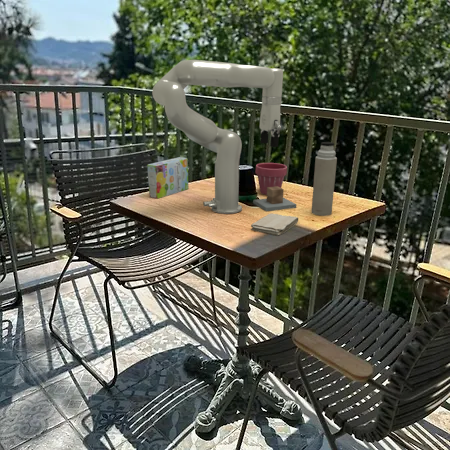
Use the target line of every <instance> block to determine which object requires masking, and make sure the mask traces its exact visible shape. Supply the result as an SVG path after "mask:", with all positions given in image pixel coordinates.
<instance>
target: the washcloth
mask: <svg viewBox="0 0 450 450" xmlns="http://www.w3.org/2000/svg"><path fill="white" fill-rule="evenodd" d="M298 222H299V217H297V216H291V215H282V214H278V213H271V212H270V213H268V214H267V215H265V216H264V217H262V218H259V219H258V220H257V221H255V222H253V223H252V224H251V225H250V227H251V229H250V230H251V231H255V232H258V233H263V234H269V235H273V236H280V235H282V234H284V233H286V232H287V231H289V230H290V229H292V228H293V227H294V226H295V225H296V224H298Z"/></svg>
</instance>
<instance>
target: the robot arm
mask: <svg viewBox="0 0 450 450" xmlns="http://www.w3.org/2000/svg"><path fill="white" fill-rule="evenodd" d="M283 78H284V72H283V69H281V68H274V67H273V68H271V67H268V66H259V65H247V64H237V63H233V62H232V63H231V62H225V61H224V62H222V61H211V60H201V59H185V60H184V59H183V60H180V62H179V61H178V63H176V64H175V65H174V66H173V67H172V68H170V70H169V71H168V72H166V73H165V74H164V76H162V77H161V78H160V79H159V80H158V81H157V82H156V83H155V84H154V86H153V87H152V90H151V91H152V97H153V99H154V101H155V102H156V103H158V104H159V105H161V106H164V111H165V115H166V117H167V120H168V121H169V123H170V124H171V125H172V126H173V127H174V128H176V129H177V130H179V131H182V132H183V133H184V134H185V136H186V137H187V138H188V139H189V140H191V141H192V142H194V143H196V144H198V145H200V146H201V147H204V148H205V149H208V150H209V151H212V152H214V153H217V154H216V158H215V162H214V197H212V199H211V200H210V201H208V200H207V201H203V207H209V208H210V210H211V211H212V212H214V213H218V214H224V215H225V214H228V215H230V214H236V213H240V212H242V210H243V206H242V205H241V204H239V195H240V194H239V187H240V186H239V185H240V183H239V182H240V158H241V153H242V147H243V146H242V140H241V137H240V136H239V135H238V134H237V132H235V131H232V130H228V129H224V128H220V127H218V126H217V125H216V123H215V122H214V121H213V120H212V119H210V118H208V117H206V116H204V115H202V114H201V113H198V112H197V111H195V110H194V109H192V108H191V107H190V106H189V105H188V104H187V101H186V100H187V99H186V91H185V89H186V87H187V86H188V85H189V86H190V85H191V86H203V87H219V88H252V89H258V88H259V89H262V95H261V96H262V98H261V110H260V118H259V129H260V144H268V143H269V132H270V133H271V136H270V145H269V147H271V148H278V147H279V141H280V140H279V137H280V133H281V130H282V126H281V106H282V95H283V94H282V93H283V81H284V79H283Z"/></svg>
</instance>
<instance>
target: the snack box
mask: <svg viewBox="0 0 450 450" xmlns="http://www.w3.org/2000/svg"><path fill="white" fill-rule="evenodd" d="M188 165H189V164H188V158H187V157H182V156H181V157H180V156H179V157H174V158H170V159H165V160H161V161H156V162H153V163H148V164H147V165H146V167H147V178H148V180H147V181H148V192H149V193H148V194H149V198H152V199H157V200H158V199H162V198H166V197H168V196H171V195H174V194H177V193H181V192H183V191H187V190H189V189H190V188H189V186H190V185H189V168H188V167H189V166H188Z"/></svg>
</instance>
